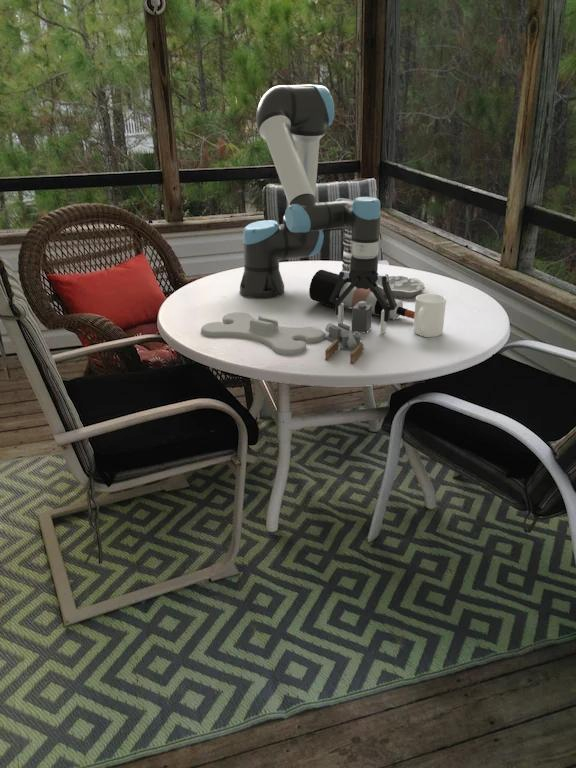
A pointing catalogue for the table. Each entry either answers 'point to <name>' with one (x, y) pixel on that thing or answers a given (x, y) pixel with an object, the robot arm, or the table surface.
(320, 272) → the cable
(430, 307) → the mug
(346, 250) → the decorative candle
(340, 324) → the clip
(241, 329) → the holder
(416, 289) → the brain slice
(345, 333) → the clip
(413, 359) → the table surface
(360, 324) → the block
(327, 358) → the end holder
